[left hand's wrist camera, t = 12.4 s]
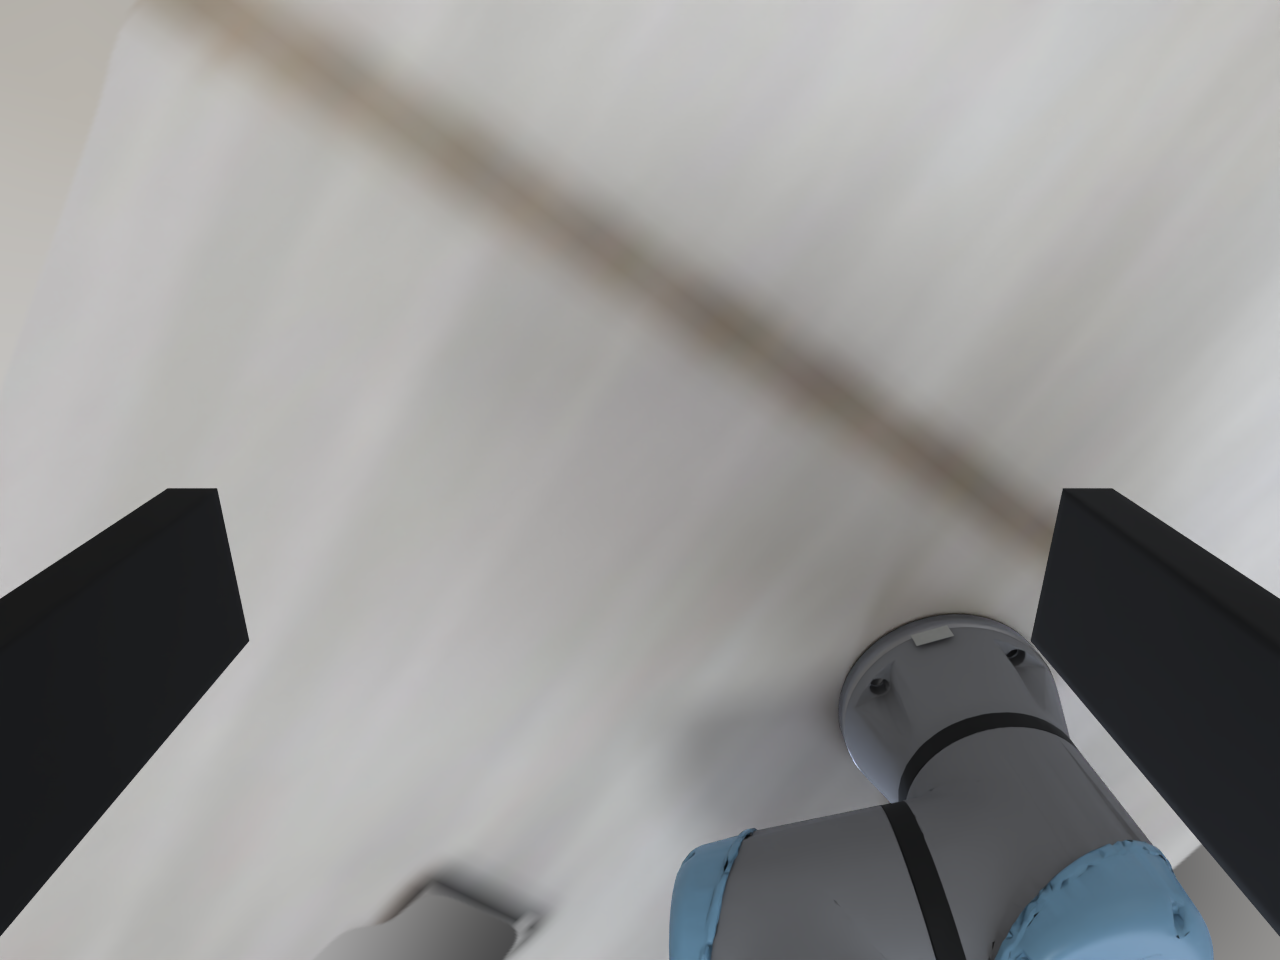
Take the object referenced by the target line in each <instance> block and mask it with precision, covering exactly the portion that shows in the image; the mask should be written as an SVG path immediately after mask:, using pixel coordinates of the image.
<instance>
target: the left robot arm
mask: <svg viewBox="0 0 1280 960" xmlns="http://www.w3.org/2000/svg"><path fill="white" fill-rule="evenodd" d="M248 642H249V637H248V633H247V628H246V623H245V618H244V614H243V609H242V604H241V599H240V595H239V590H238V585H237V580H236V576H235V571H234V566H233V562H232V557H231V552H230V547H229V543H228V538H227V533H226V528H225V524H224V519H223V514H222V509H221V505H220V500H219V495H218V491H217V488H168V489H166V490H165V491H163V492H162V493H160V494H159V495H157V496H156V497H154V498H152V499H151V500H149V501H148V502H146V503H145V504H143V505H142V506H140V507H139V508H137V509H136V510H134V511H133V512H131V513H130V514H128V515H127V516H125V517H124V518H122V519H121V520H119V521H118V522H116V523H115V524H113V525H112V526H110V527H108V528H107V529H105V530H104V531H102V532H101V533H99V534H98V535H96V536H95V537H93V538H92V539H90V540H89V541H87V542H86V543H84V544H83V545H81V546H80V547H78V548H77V549H75V550H74V551H72V552H71V553H69V554H68V555H66V556H64V557H63V558H61V559H60V560H58V561H57V562H55V563H54V564H52V565H51V566H49V567H48V568H46V569H45V570H43V571H42V572H40V573H39V574H37V575H36V576H34V577H33V578H31V579H30V580H28V581H27V582H25V583H24V584H22V585H20V586H19V587H17V588H16V589H14V590H13V591H11V592H10V593H8V594H7V595H5V596H4V597H2V598H1V599H0V936H1V935H2V934H3V933H4V931H5V930H6V929H7V928H8V927H9V925H10V924H11V923H12V922H13V921H14V919H15V918H16V917H17V916H18V915H19V914H20V912H21V911H22V910H23V909H24V908H25V906H26V905H27V904H28V903H29V902H30V900H31V899H32V898H33V897H34V896H35V895H36V893H37V892H38V891H39V890H40V889H41V887H42V886H43V885H44V884H45V883H46V881H47V880H48V879H49V878H50V877H51V876H52V874H53V873H54V872H55V871H56V870H57V868H58V867H59V866H60V865H61V864H62V862H63V861H64V860H65V859H66V858H67V857H68V855H69V854H70V853H71V852H72V851H73V849H74V848H75V847H76V846H77V845H78V843H79V842H80V841H81V840H82V839H83V838H84V836H85V835H86V834H87V833H88V832H89V830H90V829H91V828H92V827H93V826H94V825H95V823H96V822H97V821H98V820H99V819H100V817H101V816H102V815H103V814H104V813H105V811H106V810H107V809H108V808H109V807H110V806H111V804H112V803H113V802H114V801H115V800H116V798H117V797H118V796H119V795H120V794H121V792H122V791H123V790H124V789H125V788H126V787H127V785H128V784H129V783H130V782H131V781H132V779H133V778H134V777H135V776H136V775H137V773H138V772H139V771H140V770H141V769H142V768H143V766H144V765H145V764H146V763H147V762H148V760H149V759H150V758H151V757H152V756H153V754H154V753H155V752H156V751H157V750H158V749H159V747H160V746H161V745H162V744H163V743H164V741H165V740H166V739H167V738H168V737H169V736H170V734H171V733H172V732H173V731H174V730H175V728H176V727H177V726H178V725H179V724H180V722H181V721H182V720H183V719H184V718H185V717H186V715H187V714H188V713H189V712H190V711H191V709H192V708H193V707H194V706H195V705H196V703H197V702H198V701H199V700H200V699H201V698H202V696H203V695H204V694H205V693H206V692H207V690H208V689H209V688H210V687H211V686H212V684H213V683H214V682H215V681H216V680H217V679H218V677H219V676H220V675H221V674H222V673H223V671H224V670H225V669H226V668H227V667H228V665H229V664H230V663H231V662H232V661H233V660H234V658H235V657H236V656H237V655H238V654H239V652H240V651H241V650H242V649H243V648H244V647H245V645H246V644H247V643H248ZM1031 642H1032V643H1033V644H1034V645H1035V647H1036V648H1037V649H1038V650H1039V651H1040V652H1041V654H1042V655H1043V656H1044V657H1045V658H1046V660H1047V661H1048V662H1049V663H1050V664H1051V665H1052V667H1053V668H1054V669H1055V670H1056V671H1057V673H1058V674H1059V675H1060V676H1061V677H1062V679H1063V680H1064V681H1065V682H1066V683H1067V684H1068V686H1069V687H1070V688H1071V689H1072V690H1073V692H1074V693H1075V694H1076V695H1077V696H1078V698H1079V699H1080V700H1081V701H1082V702H1083V703H1084V705H1085V706H1086V707H1087V708H1088V709H1089V711H1090V712H1091V713H1092V714H1093V715H1094V717H1095V718H1096V719H1097V720H1098V721H1099V722H1100V724H1101V725H1102V726H1103V727H1104V728H1105V730H1106V731H1107V732H1108V733H1109V734H1110V736H1111V737H1112V738H1113V739H1114V740H1115V741H1116V743H1117V744H1118V745H1119V746H1120V747H1121V749H1122V750H1123V751H1124V752H1125V753H1126V754H1127V756H1128V757H1129V758H1130V759H1131V760H1132V762H1133V763H1134V764H1135V765H1136V766H1137V768H1138V769H1139V770H1140V771H1141V772H1142V773H1143V775H1144V776H1145V777H1146V778H1147V779H1148V781H1149V782H1150V783H1151V784H1152V785H1153V787H1154V788H1155V789H1156V790H1157V791H1158V792H1159V794H1160V795H1161V796H1162V797H1163V798H1164V800H1165V801H1166V802H1167V803H1168V804H1169V806H1170V807H1171V808H1172V809H1173V810H1174V811H1175V813H1176V814H1177V815H1178V816H1179V817H1180V819H1181V820H1182V821H1183V822H1184V823H1185V825H1186V826H1187V827H1188V828H1189V829H1190V830H1191V832H1192V833H1193V834H1194V835H1195V836H1196V838H1197V839H1198V840H1199V841H1200V842H1201V843H1202V845H1203V846H1204V847H1205V848H1206V849H1207V851H1208V852H1209V853H1210V854H1211V855H1212V856H1213V858H1214V859H1215V860H1216V861H1217V862H1218V864H1219V865H1220V866H1221V867H1222V868H1223V870H1224V871H1225V872H1226V873H1227V874H1228V876H1229V877H1230V878H1231V879H1232V880H1233V881H1234V883H1235V884H1236V885H1237V886H1238V887H1239V889H1240V890H1241V891H1242V892H1243V893H1244V895H1245V896H1246V897H1247V898H1248V899H1249V900H1250V902H1251V903H1252V904H1253V905H1254V906H1255V908H1256V909H1257V910H1258V911H1259V912H1260V914H1261V915H1262V916H1263V917H1264V918H1265V919H1266V921H1267V922H1268V923H1269V924H1270V925H1271V927H1272V928H1273V929H1274V930H1275V931H1276V932H1277V934H1278V935H1279V936H1280V599H1279V598H1278V597H1276V596H1275V595H1273V594H1272V593H1270V592H1269V591H1267V590H1266V589H1264V588H1263V587H1261V586H1260V585H1258V584H1256V583H1255V582H1253V581H1252V580H1250V579H1249V578H1247V577H1246V576H1244V575H1243V574H1241V573H1240V572H1238V571H1237V570H1235V569H1234V568H1232V567H1231V566H1229V565H1228V564H1226V563H1225V562H1223V561H1222V560H1220V559H1219V558H1217V557H1216V556H1214V555H1212V554H1211V553H1209V552H1208V551H1206V550H1205V549H1203V548H1202V547H1200V546H1199V545H1197V544H1196V543H1194V542H1193V541H1191V540H1190V539H1188V538H1187V537H1185V536H1184V535H1182V534H1181V533H1179V532H1178V531H1176V530H1175V529H1173V528H1172V527H1170V526H1168V525H1167V524H1165V523H1164V522H1162V521H1161V520H1159V519H1158V518H1156V517H1155V516H1153V515H1152V514H1150V513H1149V512H1147V511H1146V510H1144V509H1143V508H1141V507H1140V506H1138V505H1137V504H1135V503H1134V502H1132V501H1131V500H1129V499H1128V498H1126V497H1124V496H1123V495H1121V494H1120V493H1118V492H1117V491H1115V490H1114V489H1112V488H1063V491H1062V495H1061V500H1060V505H1059V509H1058V514H1057V519H1056V524H1055V528H1054V533H1053V538H1052V543H1051V547H1050V552H1049V557H1048V562H1047V566H1046V571H1045V576H1044V580H1043V585H1042V590H1041V595H1040V599H1039V604H1038V609H1037V614H1036V618H1035V623H1034V628H1033V633H1032V637H1031ZM838 714H839V724H840V728H841V732H842V735H843V738H844V740H845V743H846V746H847V748H848V751H849V753H850V756H851V757H852V759H853V761H854V763H855V764H856V765H857V767H858V768H859V769H860V770H861V772H862V773H863V774H864V775H865V777H866V778H867V779H868V780H869V781H870V782H871V783H872V784H873V785H874V786H875V787H876V788H877V789H878V790H879V791H880V792H881V793H882V794H883V795H884V796H885V797H886V798H887V799H888V800H889V801H890V802H891V804H886V805H879V806H874V807H869V808H864V809H860V810H855V811H850V812H845V813H840V814H835V815H830V816H825V817H820V818H815V819H811V820H806V821H801V822H796V823H791V824H786V825H781V826H776V827H771V828H767V829H762V830H757V829H755V828H752V829H747V830H745V831H743V832H742V833H741V834H740V835H739V836H735V837H731V838H727V839H724V840H720V841H716V842H712V843H709V844H705V845H701V846H699V847H697V848H696V849H694V850H693V851H691V852H690V853H689V855H688V856H687V857H686V859H685V860H684V861H683V863H682V865H681V868H680V869H679V872H678V873H677V876H676V880H675V884H674V889H673V894H672V901H671V911H670V927H669V960H1214V958H1213V946H1212V941H1211V937H1210V934H1209V931H1208V928H1207V926H1206V924H1205V922H1204V920H1203V918H1202V916H1201V914H1200V913H1199V911H1198V910H1197V908H1196V907H1195V905H1194V904H1193V902H1192V901H1191V899H1190V898H1189V897H1188V895H1187V894H1186V892H1185V891H1184V889H1183V888H1182V886H1181V885H1180V883H1179V882H1178V880H1177V879H1176V876H1175V874H1174V872H1173V870H1172V867H1171V865H1170V863H1169V861H1168V860H1167V859H1166V858H1165V856H1164V855H1163V854H1162V852H1161V851H1160V850H1159V849H1158V848H1156V847H1155V846H1153V845H1152V843H1151V842H1150V841H1149V840H1148V838H1147V837H1146V836H1145V834H1144V833H1143V832H1142V831H1141V829H1140V828H1139V827H1138V826H1137V824H1136V823H1135V822H1134V820H1133V819H1132V818H1131V817H1130V815H1129V814H1128V813H1127V812H1126V810H1125V809H1124V808H1123V806H1122V805H1121V804H1120V803H1119V801H1118V800H1117V799H1116V797H1115V796H1114V795H1113V794H1112V792H1111V791H1110V790H1109V789H1108V787H1107V786H1106V785H1105V783H1104V782H1103V781H1102V780H1101V778H1100V777H1099V776H1098V775H1097V773H1096V772H1095V771H1094V769H1093V768H1092V767H1091V766H1090V764H1089V763H1088V762H1087V760H1086V759H1085V758H1084V757H1083V755H1082V754H1081V753H1080V752H1079V750H1078V749H1077V748H1076V746H1075V745H1074V744H1073V742H1072V741H1071V740H1070V737H1069V733H1068V730H1067V726H1066V722H1065V718H1064V714H1063V710H1062V706H1061V702H1060V698H1059V694H1058V690H1057V687H1056V684H1055V681H1054V678H1053V676H1052V674H1051V671H1050V670H1049V668H1048V666H1047V664H1046V663H1045V662H1044V660H1043V659H1042V658H1041V656H1040V655H1039V654H1038V653H1037V652H1036V650H1035V649H1034V648H1033V647H1032V646H1031V644H1030V643H1029V642H1028V641H1027V640H1026V639H1025V638H1024V637H1022V636H1021V635H1020V634H1019V633H1018V632H1016V631H1015V630H1013V629H1011V628H1010V627H1008V626H1006V625H1004V624H1002V623H1000V622H997V621H994V620H992V619H988V618H984V617H980V616H974V615H964V614H950V615H939V616H934V617H928V618H925V619H921V620H917V621H914V622H912V623H909V624H906V625H904V626H902V627H900V628H898V629H896V630H894V631H892V632H890V633H889V634H887V635H886V636H884V637H882V638H881V639H880V640H878V641H877V642H876V643H874V644H873V645H872V646H871V647H870V648H869V649H868V650H867V651H866V652H865V653H864V654H863V655H862V656H861V657H860V658H859V659H858V661H857V662H856V663H855V665H854V666H853V667H852V669H851V671H850V672H849V674H848V676H847V678H846V680H845V682H844V685H843V688H842V691H841V695H840V699H839V708H838Z"/></svg>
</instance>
